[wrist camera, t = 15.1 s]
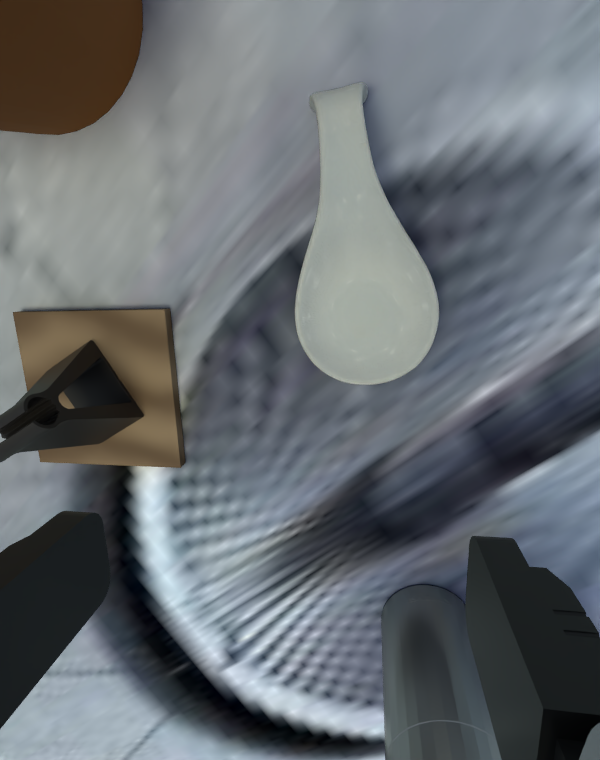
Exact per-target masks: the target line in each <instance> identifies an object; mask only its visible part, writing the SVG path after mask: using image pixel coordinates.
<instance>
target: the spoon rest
mask: <svg viewBox="0 0 600 760" xmlns="http://www.w3.org/2000/svg"><path fill="white" fill-rule="evenodd" d="M367 96H368V88H367V86H366V84H365V83H363V82H359V83H355V84H351V85H348V86H345V87H342V88H337V89H333V90H328V91H321V92H316V93H313V94H312V95H311V96H310V101H309V104H310V108H311V109H312V111H314V112H315V113H316V114H317V121H318V132H319V145H320V168H321V177H320V198H319V206H318V211H317V216H316V221H315V224H314V228H313V232H312V235H311V238H310V242H309V245H308V248H307V251H306V255H305V259H304V262H303V266H302V269H301V273H300V277H299V282H298V288H297V293H296V302H295V323H296V329H297V334H298V337H299V340H300V343H301V345H302V347H303V349H304V351H305V352H306V354H307V356H308V357H309V358H310V360H311V361H312V362H313V363H314V364H315V365H316V366H317V367H318V368H319V369H320V370H321V371H323V372H324V373H326V374H327V375H329V376H331V377H333V378H335V379H337V380H339V381H342V382H346V383H350V384H357V385H372V384H380V383H385V382H389V381H392V380H394V379H397V378H399V377H401V376H403V375H405V374H407V373H408V372H410V371H411V370H412V369H414V368H415V367H416V366H417V365H418V364H419V363H420V362H421V361H422V360H423V359H424V357H425V356H426V354H427V353H428V351H429V350H430V348H431V346H432V343H433V341H434V338H435V335H436V332H437V327H438V321H439V303H438V297H437V292H436V289H435V286H434V283H433V280H432V277H431V275H430V272H429V270H428V268H427V266H426V264H425V262H424V261H423V259H422V257H421V256H420V254H419V252H418V250H417V249H416V247H415V245H414V244H413V242H412V241H411V239H410V238H409V236H408V234H407V233H406V231H405V230H404V228H403V226H402V225H401V223H400V221H399V219H398V218H397V216H396V214H395V213H394V211H393V209H392V207H391V206H390V204H389V202H388V200H387V198H386V196H385V193H384V191H383V189H382V187H381V185H380V182H379V179H378V177H377V174H376V171H375V168H374V164H373V160H372V156H371V152H370V147H369V142H368V136H367V131H366V124H365V118H364V111H363V103H364V102H365V101H366V99H367Z"/></svg>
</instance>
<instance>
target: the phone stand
mask: <svg viewBox="0 0 600 760" xmlns="http://www.w3.org/2000/svg"><path fill="white" fill-rule="evenodd" d="M62 392H64V393H65V395H66V396H67V398H68V399H69V400H70V402H71V403H72V405H73V406H74V409H67V408H65V407H64V406H62V405H61V403H60V402H59V395H60V394H61V393H62ZM143 417H144V414H143V412H142V411H141V409H140V408H139V406H138V405H137V403H136V402H135V401H134V399H133V398H132V396H131V395H130V393H129V392H128V390H127V389H126V387H125V386H124V384H123V383H122V382H121V380H119V379H118V376H117V374H116V373H115V371H114V370H113V368H112V367H111V365H110V364H109V363H108V361H107V360H106V358H105V357H104V355H103V354H102V352H101V351H100V349H99V348H98V346H97V345H96V343H95V342H94V341H92V340H90V341H89V342H87V343H86V344H84V345H83V346H81V347H80V348H79V349H77V350H76V351H74V352H73V353H72V354H70V355H69V356H67V357H66V358H65V359H63V360H62V361H60V362H59V363H57V364H56V365H55V366H53V367H52V368H50V369H49V370H48V371H47V372H46V373H45V374H44V375H43V376H42V377H41V378H40V379H39V380H38V381H37V382H36V383H35V384H34V385H33V386H32V388H31V389H30V390H29V391H28V392H27V393H26V394H25V395H24V396H23V397H22V398H21V399H20V400H19V401H18V402H17V403H16V405H15V406H13V407H12V408H10V409H9V410H7V411H6V412H5V413H3V414H2V415H0V433H1V436H2V438H6V440H4V441H3V442H1V443H0V462H2V461H4V460H6V459H7V458H9V457H10V456H12V455H13V454H16V453H19V452H27V451H37V450H46V449H56V448H66V447H76V446H85V445H95V444H100V443H102V442H104V441H105V440H107V439H109V438H110V437H112V436H113V435H115V434H117V433H118V432H120V431H122V430H123V429H125V428H126V427H128V426H130V425H131V424H133V423H134V422H136V421H138V420H139V419H141V418H143Z"/></svg>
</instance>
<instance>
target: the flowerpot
mask: <svg viewBox="0 0 600 760" xmlns="http://www.w3.org/2000/svg"><path fill="white" fill-rule="evenodd" d="M142 31H143V12H142V0H0V130H2V131H13V132H24V133H35V134H53V135H60V134H65V133H70V132H75V131H78V130H80V129H82V128H84V127H86V126H89V125H91V124H93V123H94V122H96V121H97V120H98V119H99V118H101V117H102V116H103V115H104V114H106V113H107V112H108V111H109V110H110V109H111V108H112V106H113V105H114V104H115V103H116V101H117V100H118V99H119V98H120V97H121V95H122V94H123V92H124V90H125V88H126V86H127V84H128V82H129V80H130V79H131V77H132V74H133V71H134V68H135V65H136V62H137V59H138V56H139V51H140V44H141V38H142Z"/></svg>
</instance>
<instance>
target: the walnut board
mask: <svg viewBox="0 0 600 760" xmlns="http://www.w3.org/2000/svg"><path fill="white" fill-rule="evenodd" d="M13 316H14V321H15V327H16V332H17V337H18V343H19V348H20V354H21V359H22V365H23V370H24V375H25V381H26V386H27V392H28V391H29V390H30V389H31V388H32V386H33V385H34V384H35V383H36V382H37V381H38V380H39V379H40V378H41V377H42V376H43V375H44V374H45V373H46V372H47V371H48V370H49V369H50V368H52V367H53V366H55V365H56V364H57V363H59V362H60V361H62V360H63V359H65V358H66V357H67V356H69V355H70V354H72V353H73V352H74V351H76V350H77V349H79V348H80V347H81V346H83V345H84V344H86V343H87V342H89V341H90V340H92V341H94V342H95V343H96V345H97V346H98V348H99V349H100V351H101V352H102V354H103V355H104V357H105V358H106V360H107V361H108V363H109V364H110V365H111V367H112V368H113V370H114V371H115V373H116V374H117V376H118V379H119V380H121V382H122V383H123V384H124V386H125V387H126V389H127V390H128V392H129V393H130V395H131V396H132V398H133V399H134V401H135V402H136V403H137V405H138V406H139V408H140V409H141V411H142V412H143V414H144V417H143V418H141V419H139V420H138V421H136V422H134V423H133V424H131V425H130V426H128V427H126V428H125V429H123V430H122V431H120V432H118V433H117V434H115V435H113V436H112V437H110V438H109V439H107V440H105V441H104V442H102V443H100V444H95V445H85V446H76V447H66V448H56V449H46V450H38V452H39V457H40V462H54V463H78V464H103V465H127V466H151V467H175V468H181V467H182V466H183V465H184V464H185V454H184V443H183V433H182V423H181V413H180V403H179V393H178V383H177V373H176V363H175V353H174V343H173V333H172V323H171V312H170V309H120V310H67V311H21V312H13ZM59 402H60V403H61V405H62V406H64V407H65V408H67V409H74V406H73V405H72V403H71V402H70V400H69V399H68V398H67V396H66V395H65V393H64V392H62V393H61V394H60V395H59Z"/></svg>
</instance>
